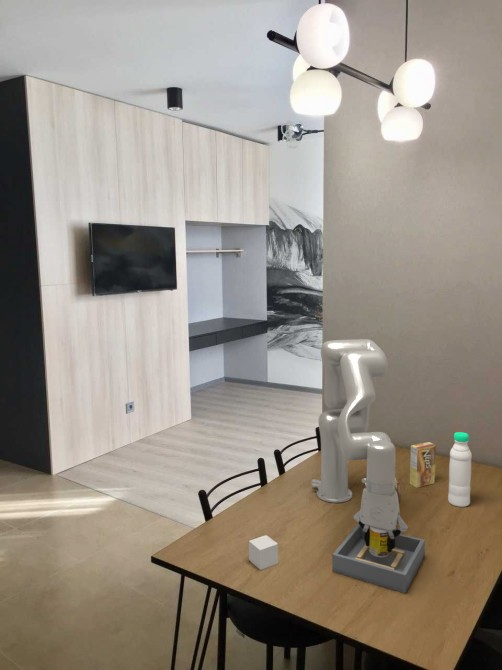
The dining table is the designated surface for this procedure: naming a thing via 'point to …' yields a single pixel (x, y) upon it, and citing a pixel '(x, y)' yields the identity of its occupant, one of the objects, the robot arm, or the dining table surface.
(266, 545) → the white cube
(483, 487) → the dining table surface
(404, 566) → the walled box
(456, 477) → the water bottle
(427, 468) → the candy box
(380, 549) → the supplement bottle
